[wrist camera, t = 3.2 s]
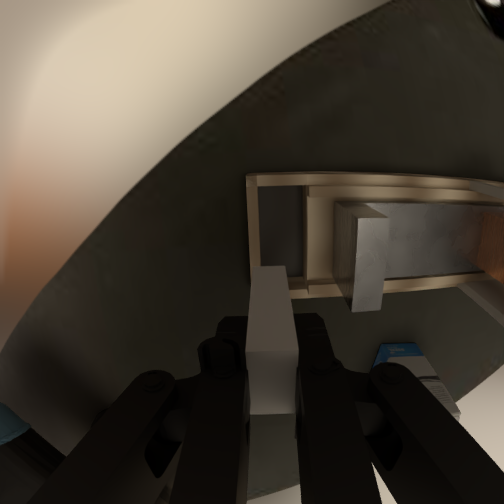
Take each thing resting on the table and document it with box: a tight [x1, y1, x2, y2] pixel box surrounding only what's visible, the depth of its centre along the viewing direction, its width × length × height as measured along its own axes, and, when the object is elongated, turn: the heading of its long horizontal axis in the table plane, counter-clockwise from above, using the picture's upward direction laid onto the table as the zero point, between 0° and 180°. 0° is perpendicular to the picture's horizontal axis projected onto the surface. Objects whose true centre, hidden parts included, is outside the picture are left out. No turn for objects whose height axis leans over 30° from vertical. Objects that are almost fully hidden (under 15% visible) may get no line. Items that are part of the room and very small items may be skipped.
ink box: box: [372, 343, 461, 421], centre depth 26 cm, size 8×5×12 cm, turn 173°
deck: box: [246, 172, 504, 299], centre depth 24 cm, size 34×10×4 cm, turn 93°
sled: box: [332, 201, 504, 312], centre depth 20 cm, size 18×6×6 cm, turn 93°
